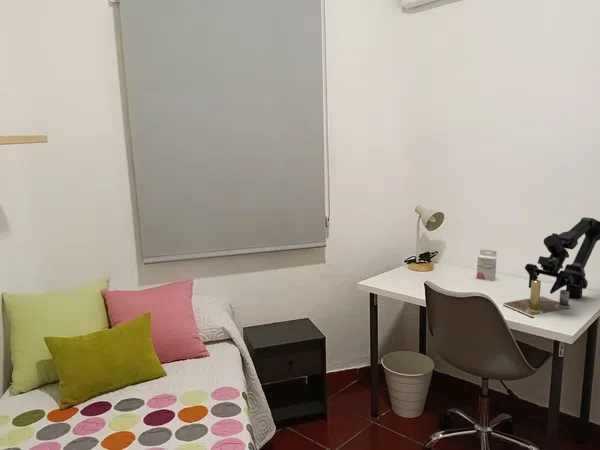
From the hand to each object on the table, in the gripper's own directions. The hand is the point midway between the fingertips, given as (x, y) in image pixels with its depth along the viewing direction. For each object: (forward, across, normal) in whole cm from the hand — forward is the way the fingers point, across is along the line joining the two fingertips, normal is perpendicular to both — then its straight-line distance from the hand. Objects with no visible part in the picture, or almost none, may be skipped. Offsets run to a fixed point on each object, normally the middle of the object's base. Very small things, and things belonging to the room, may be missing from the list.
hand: (539, 290), depth 201 cm
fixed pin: (-2, +4, +14) cm, 15 cm away
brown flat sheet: (+4, -3, +10) cm, 11 cm away
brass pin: (+8, 0, +4) cm, 9 cm away
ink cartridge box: (-11, -44, +25) cm, 51 cm away
